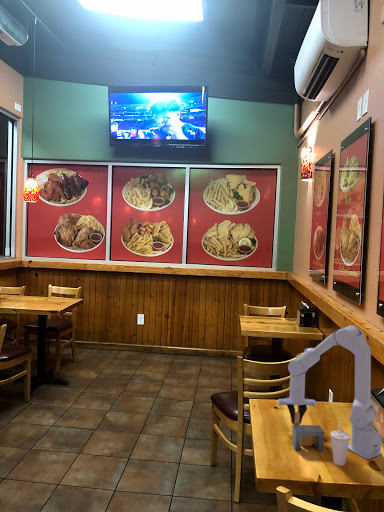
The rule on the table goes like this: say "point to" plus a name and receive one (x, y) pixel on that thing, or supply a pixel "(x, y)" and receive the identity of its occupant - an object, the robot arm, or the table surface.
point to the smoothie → (339, 446)
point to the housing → (307, 431)
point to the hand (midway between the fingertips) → (296, 422)
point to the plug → (304, 439)
